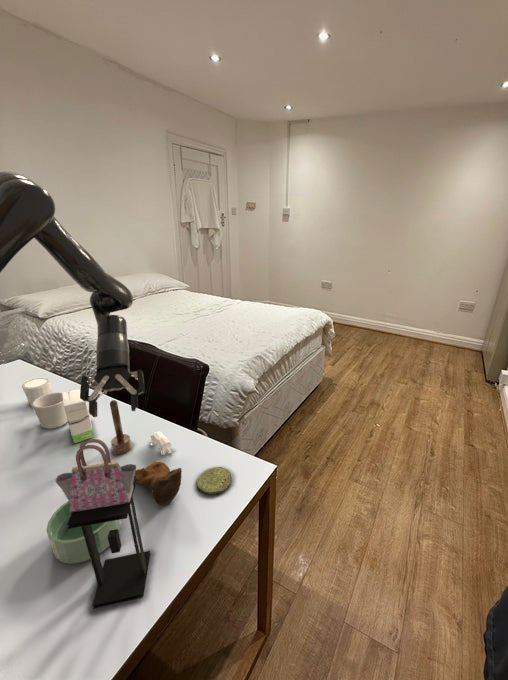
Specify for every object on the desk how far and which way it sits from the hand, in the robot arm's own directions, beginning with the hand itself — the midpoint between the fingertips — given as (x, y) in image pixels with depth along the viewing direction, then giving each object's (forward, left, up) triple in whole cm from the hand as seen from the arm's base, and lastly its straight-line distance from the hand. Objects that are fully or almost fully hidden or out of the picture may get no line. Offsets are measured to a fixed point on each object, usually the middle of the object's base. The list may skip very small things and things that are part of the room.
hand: (114, 413), depth 80 cm
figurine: (+10, 0, -12) cm, 15 cm away
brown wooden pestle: (0, +1, -12) cm, 12 cm away
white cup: (-32, +26, -12) cm, 43 cm away
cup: (-23, +15, -12) cm, 30 cm away
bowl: (+2, -24, -12) cm, 27 cm away
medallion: (+25, -13, -12) cm, 30 cm away
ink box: (-13, +9, -12) cm, 20 cm away
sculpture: (+12, -14, -12) cm, 22 cm away
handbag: (+11, -33, -12) cm, 37 cm away
